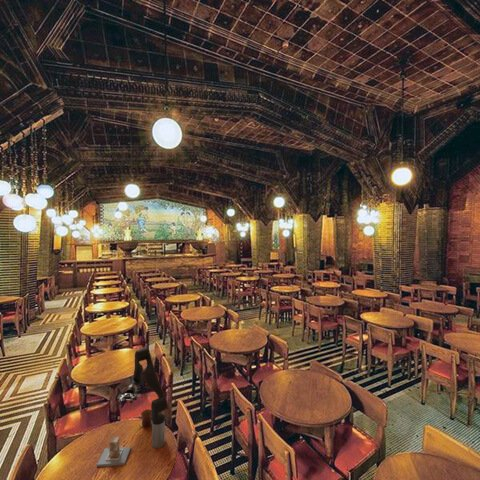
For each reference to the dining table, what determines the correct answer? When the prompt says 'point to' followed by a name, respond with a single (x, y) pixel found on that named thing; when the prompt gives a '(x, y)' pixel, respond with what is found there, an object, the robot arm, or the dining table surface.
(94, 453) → the dining table surface
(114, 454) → the pillar
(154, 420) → the robot arm
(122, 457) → the board
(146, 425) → the mug
